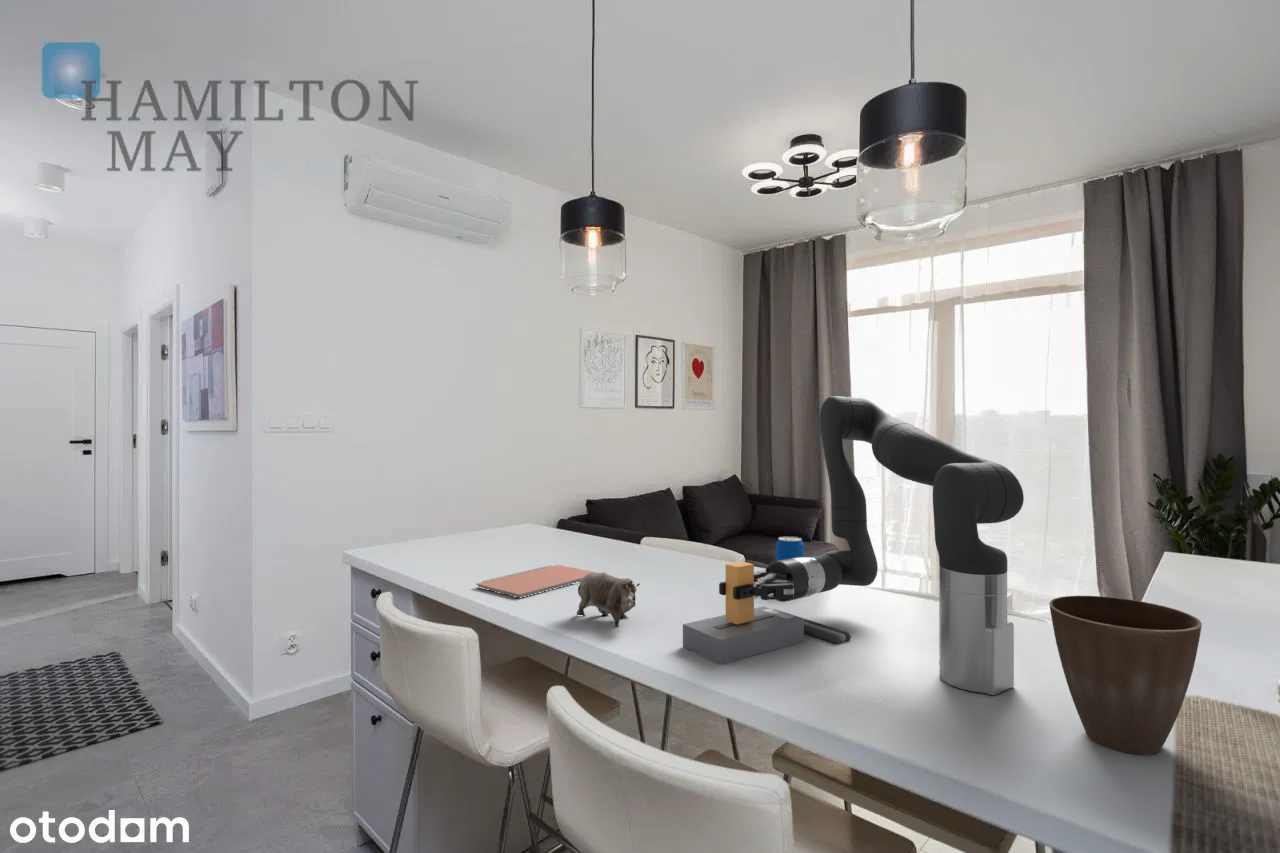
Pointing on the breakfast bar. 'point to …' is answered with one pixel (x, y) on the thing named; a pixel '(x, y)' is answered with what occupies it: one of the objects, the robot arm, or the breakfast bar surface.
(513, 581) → the notebook
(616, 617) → the rhinoceros figurine
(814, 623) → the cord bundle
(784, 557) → the beverage can
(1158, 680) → the plant pot
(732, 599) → the handle
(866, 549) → the robot arm
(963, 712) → the breakfast bar surface
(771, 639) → the breaker box
